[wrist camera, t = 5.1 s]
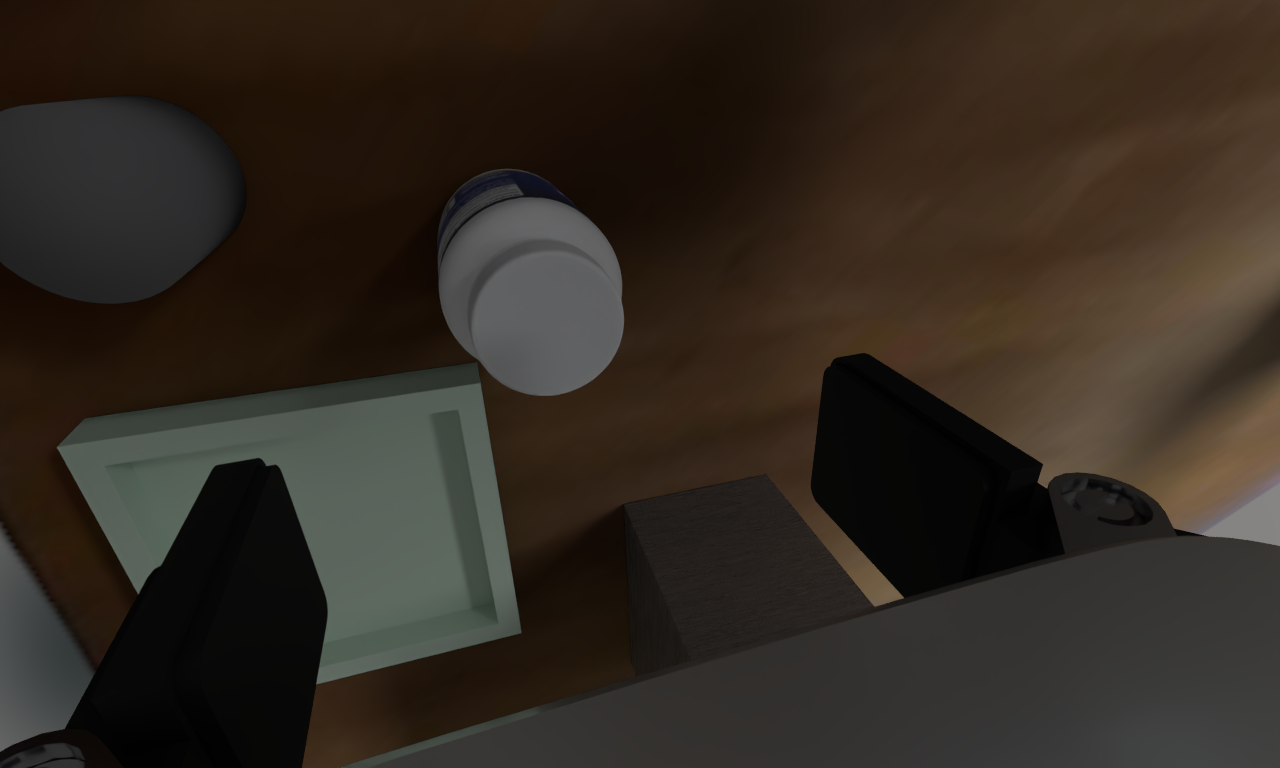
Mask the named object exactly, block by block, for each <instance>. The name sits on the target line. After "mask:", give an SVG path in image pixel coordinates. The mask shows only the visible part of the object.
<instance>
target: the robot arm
mask: <svg viewBox="0 0 1280 768" xmlns="http://www.w3.org/2000/svg"><path fill="white" fill-rule="evenodd" d="M1042 466H1043V464H1042V463H1040V462H1039V461H1037V460H1036V459H1034V458H1033V457H1031V456H1029V455H1028V454H1026V453H1025V452H1023V451H1021V450H1020V449H1018V448H1017V447H1015V446H1013V445H1012V444H1010V443H1009V442H1007V441H1006V440H1004V439H1002V438H1001V437H999V436H998V435H996V434H994V433H993V432H991V431H990V430H988V429H986V428H985V427H983V426H982V425H980V424H979V423H977V422H975V421H974V420H972V419H971V418H969V417H967V416H966V415H964V414H963V413H961V412H959V411H958V410H956V409H955V408H953V407H951V406H950V405H948V404H947V403H945V402H944V401H942V400H940V399H939V398H937V397H936V396H934V395H932V394H931V393H929V392H928V391H926V390H924V389H923V388H921V387H920V386H918V385H917V384H915V383H913V382H912V381H910V380H909V379H907V378H905V377H904V376H902V375H901V374H899V373H897V372H896V371H894V370H893V369H891V368H890V367H888V366H886V365H885V364H883V363H882V362H880V361H878V360H877V359H875V358H874V357H872V356H870V355H869V354H866V353H861V354H855V355H850V356H844V357H838V358H836V359H834V360H833V361H832V363H831V365H830V367H828V368H826V370H825V372H824V376H823V384H822V392H821V401H820V409H819V418H818V426H817V435H816V444H815V452H814V461H813V469H812V478H811V490H812V494H813V497H814V499H815V501H816V502H817V503H818V504H819V505H820V507H821V508H822V509H823V510H824V511H825V512H826V513H827V514H828V515H829V516H830V517H831V519H832V520H833V521H834V522H835V523H836V524H837V525H838V526H839V527H840V528H841V529H842V530H843V532H844V533H845V534H846V535H847V536H848V537H849V538H850V539H851V540H852V541H853V542H854V544H855V545H856V546H857V547H858V548H859V549H860V550H861V551H862V552H863V553H864V554H865V556H866V557H867V558H868V559H869V560H870V561H871V562H872V563H873V564H874V565H875V566H876V567H877V569H878V570H879V571H880V572H881V573H882V574H883V575H884V576H885V577H886V578H887V579H888V581H889V582H890V583H891V584H892V585H893V586H894V587H895V588H896V589H897V590H898V591H899V593H900V594H901V595H902V596H903V597H904V599H900V600H897V601H893V602H890V603H886V604H883V605H879V606H876V607H872V608H869V609H865V610H862V611H858V612H855V613H851V614H848V615H845V616H841V617H838V618H834V619H831V620H827V621H824V622H821V623H817V624H814V625H810V626H807V627H803V628H800V629H797V630H793V631H790V632H786V633H783V634H780V635H776V636H773V637H769V638H766V639H763V640H759V641H756V642H752V643H749V644H746V645H742V646H739V647H735V648H732V649H729V650H725V651H722V652H718V653H715V654H712V655H708V656H705V657H702V658H698V659H695V660H691V661H688V662H685V663H681V664H678V665H674V666H671V667H668V668H664V669H661V670H658V671H654V672H651V673H647V674H644V675H641V676H637V677H634V678H631V679H627V680H624V681H621V682H617V683H614V684H611V685H607V686H604V687H601V688H597V689H594V690H591V691H587V692H584V693H581V694H577V695H574V696H571V697H567V698H564V699H561V700H557V701H554V702H551V703H547V704H544V705H541V706H538V707H534V708H531V709H528V710H524V711H521V712H518V713H514V714H511V715H508V716H504V717H501V718H498V719H494V720H491V721H488V722H484V723H481V724H478V725H474V726H471V727H468V728H464V729H461V730H458V731H454V732H451V733H448V734H445V735H441V736H438V737H435V738H432V739H429V740H425V741H422V742H419V743H416V744H413V745H409V746H406V747H403V748H400V749H397V750H393V751H390V752H387V753H384V754H381V755H377V756H374V757H371V758H368V759H365V760H361V761H358V762H355V763H352V764H349V765H346V766H343V767H340V768H1280V546H1277V545H1272V544H1266V543H1260V542H1255V541H1249V540H1242V539H1234V538H1224V537H1223V538H1222V537H1208V536H1204V535H1199V534H1195V533H1191V532H1186V531H1182V530H1177V529H1174V528H1173V526H1172V524H1171V522H1170V520H1169V519H1168V517H1167V515H1166V513H1165V511H1164V510H1163V509H1162V507H1161V506H1160V505H1159V503H1158V502H1156V501H1155V500H1154V499H1153V498H1151V497H1150V496H1149V495H1147V494H1146V493H1144V492H1142V491H1141V490H1139V489H1137V488H1135V487H1133V486H1131V485H1129V484H1126V483H1124V482H1121V481H1118V480H1116V479H1113V478H1109V477H1105V476H1101V475H1096V474H1088V473H1065V474H1062V475H1059V476H1056V477H1054V478H1053V479H1052V480H1051V481H1050V482H1049V485H1048V488H1047V489H1046V488H1045V487H1043V486H1042V485H1040V484H1039V483H1037V482H1038V478H1039V475H1040V472H1041V469H1042ZM327 619H328V607H327V600H326V596H325V592H324V590H323V587H322V584H321V581H320V578H319V575H318V573H317V570H316V567H315V564H314V561H313V559H312V556H311V553H310V550H309V547H308V544H307V542H306V539H305V536H304V533H303V530H302V528H301V525H300V522H299V519H298V516H297V513H296V511H295V508H294V505H293V502H292V499H291V497H290V494H289V491H288V488H287V485H286V482H285V480H284V477H283V474H282V472H281V469H280V468H279V466H278V465H276V464H275V465H270V466H266V464H265V463H264V461H263V460H262V459H260V458H254V459H249V460H243V461H237V462H231V463H226V464H220V465H216V466H214V468H213V469H212V471H211V472H210V474H209V476H208V478H207V480H206V482H205V484H204V486H203V487H202V489H201V491H200V493H199V495H198V497H197V499H196V501H195V503H194V504H193V506H192V508H191V510H190V512H189V514H188V516H187V518H186V519H185V521H184V523H183V525H182V527H181V529H180V531H179V533H178V535H177V536H176V538H175V540H174V542H173V544H172V546H171V548H170V550H169V551H168V553H167V555H166V557H165V559H164V561H163V563H162V565H161V566H159V567H157V568H155V569H154V570H153V571H152V572H151V574H150V575H149V576H148V577H147V579H146V581H145V583H144V585H143V587H142V588H141V590H140V592H139V594H138V596H137V597H136V599H135V601H134V603H133V605H132V607H131V608H130V610H129V612H128V614H127V616H126V618H125V619H124V621H123V623H122V625H121V627H120V629H119V630H118V632H117V634H116V636H115V638H114V640H113V641H112V643H111V645H110V647H109V649H108V651H107V652H106V654H105V656H104V658H103V660H102V662H101V663H100V665H99V667H98V669H97V671H96V673H95V674H94V676H93V678H92V680H91V682H90V684H89V685H88V688H87V689H86V691H85V693H84V695H83V696H82V698H81V700H80V702H79V704H78V706H77V707H76V710H75V711H74V713H73V715H72V717H71V719H70V720H69V723H68V724H67V726H66V728H65V729H63V730H58V731H53V732H48V733H42V734H39V735H37V736H35V737H32V738H29V739H27V740H24V741H21V742H19V743H16V744H14V745H12V746H10V747H8V748H6V749H4V750H3V751H1V752H0V768H302V763H303V758H304V752H305V746H306V740H307V735H308V729H309V723H310V717H311V712H312V706H313V700H314V694H315V689H316V683H317V677H318V671H319V666H320V660H321V654H322V648H323V642H324V637H325V631H326V625H327Z"/></svg>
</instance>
